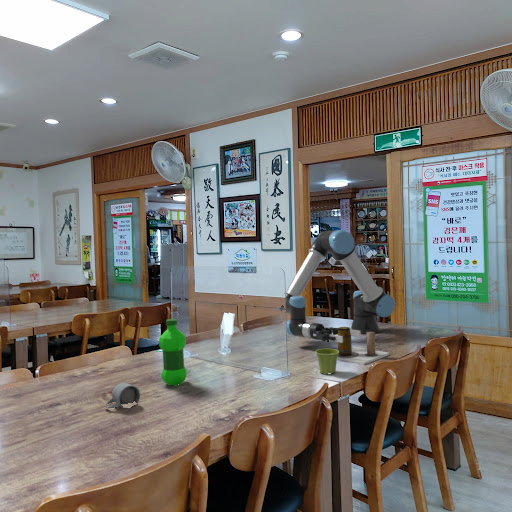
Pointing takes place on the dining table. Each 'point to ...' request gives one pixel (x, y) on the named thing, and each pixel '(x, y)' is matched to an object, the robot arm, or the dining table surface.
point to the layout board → (365, 352)
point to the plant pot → (327, 360)
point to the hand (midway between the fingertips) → (351, 336)
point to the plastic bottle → (173, 354)
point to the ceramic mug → (124, 395)
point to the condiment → (345, 342)
